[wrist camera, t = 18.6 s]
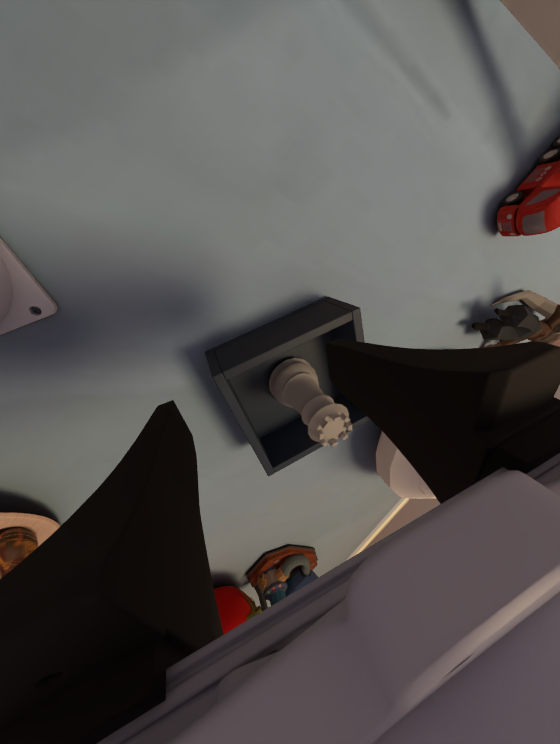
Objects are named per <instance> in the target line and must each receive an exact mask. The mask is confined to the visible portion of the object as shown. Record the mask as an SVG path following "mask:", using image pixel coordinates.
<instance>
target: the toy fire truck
mask: <svg viewBox="0 0 560 744" xmlns="http://www.w3.org/2000/svg"><path fill="white" fill-rule="evenodd" d="M539 164H540V165H538V166H537V167H536V168H535V169H534V170H533V171H532V172H531V174H530V175H529V176H528V177H527V178H526V179H525V180H524V181H523V183H522V184H521V185H520V186H519V187H518V188H517V190H516V192H515V193H512V194H510V195H508V196H507V197H506V198H505V199H504V200H503V202H502V205H503V207H501V208H500V209H499V211H498V214H497V226H498V230H499V232H500V234H501V235H502V236H520V235H521V234H522V235H524V236H529V235H536V234H542V233H546V232H549V231H552V230H554V229H556V228H558V227H560V137H559V138H557V139H556V140H555V141H554V143H553V149H552V150H550V151H548V152H546V153H545V154H543V155H542V156H541V157H540V159H539Z"/></svg>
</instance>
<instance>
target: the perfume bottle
mask: <svg viewBox="0 0 560 744" xmlns="http://www.w3.org/2000/svg"><path fill="white" fill-rule="evenodd" d="M59 527H60V525H59V524H58V523H57V522H55V521H54V520H52V519H49V518H47V517H43V516H39V515H34V514H25V513H0V579H1V578H2V577H3V576H4V575H6V574H7V573H8V572H9V571H10V570H12V569H13V568H14V567H15V566H17V565H18V564H19V563H20V562H21V561H22V560H24V559H25V558H26V557H27V556H28V555H29V554H31V553H32V552H33V551H34V550H35V549H36V548H37V547H38V546H40V545H41V544H42V543H43V542H44V541H45V540H46V539H47V538H49V537H50V536H51V535H52V534H53V533H54V532H55V531H56V530H57V529H58V528H59Z"/></svg>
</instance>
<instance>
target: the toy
mask: <svg viewBox="0 0 560 744" xmlns="http://www.w3.org/2000/svg"><path fill="white" fill-rule="evenodd" d="M519 299H522V300H523V301H524V302H525V303H526V304H527V305H528V306H530V307H531V308H532V309H533V310H535V311H536V312H538V313H540V314H541V315H543V316H544V317H546V318H545V319H543V320H541V321H539V318H538V316H536V315H534V314H531V313H530V312H529V310H528V309H527V308H526V307H525V306H524V305H513V306H508V307H507V308H506V309H505V310H501V309H498V308H496V309H495V310H494V312H495V313H496V314H497V315H500V318H501V320H502V321H501V320H499V319H498V318H492V319H488V320H486V321H485V323H473V324H472V325H471V326H472V327H473V329H478V330H480V332H481V334H482V337H483V339H484V340H500V342H498V343H497V344H495V345H488V346H485V347H496V346H504V345H511V344H516V343H518V342H520V341H523V340H525V339H528V340H532V341H530V342H544V343H548V344H552V345H555V346H559V347H560V305H558V304H556V303H554V302H552V301H550V300H548V299H547V298H545V297H543V296H541V295H538V294H536V293H534V292H532V291H530V290H527V291H524V292H520V293H517V294H513V295H511V296H508V297H504V298H502V299H501V300H499V301H497V302H496V303H494V304H492V305H496V304H500V303H504V302H509V301H514V300H519ZM492 305H491V306H492ZM482 348H484V347H482Z"/></svg>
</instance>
